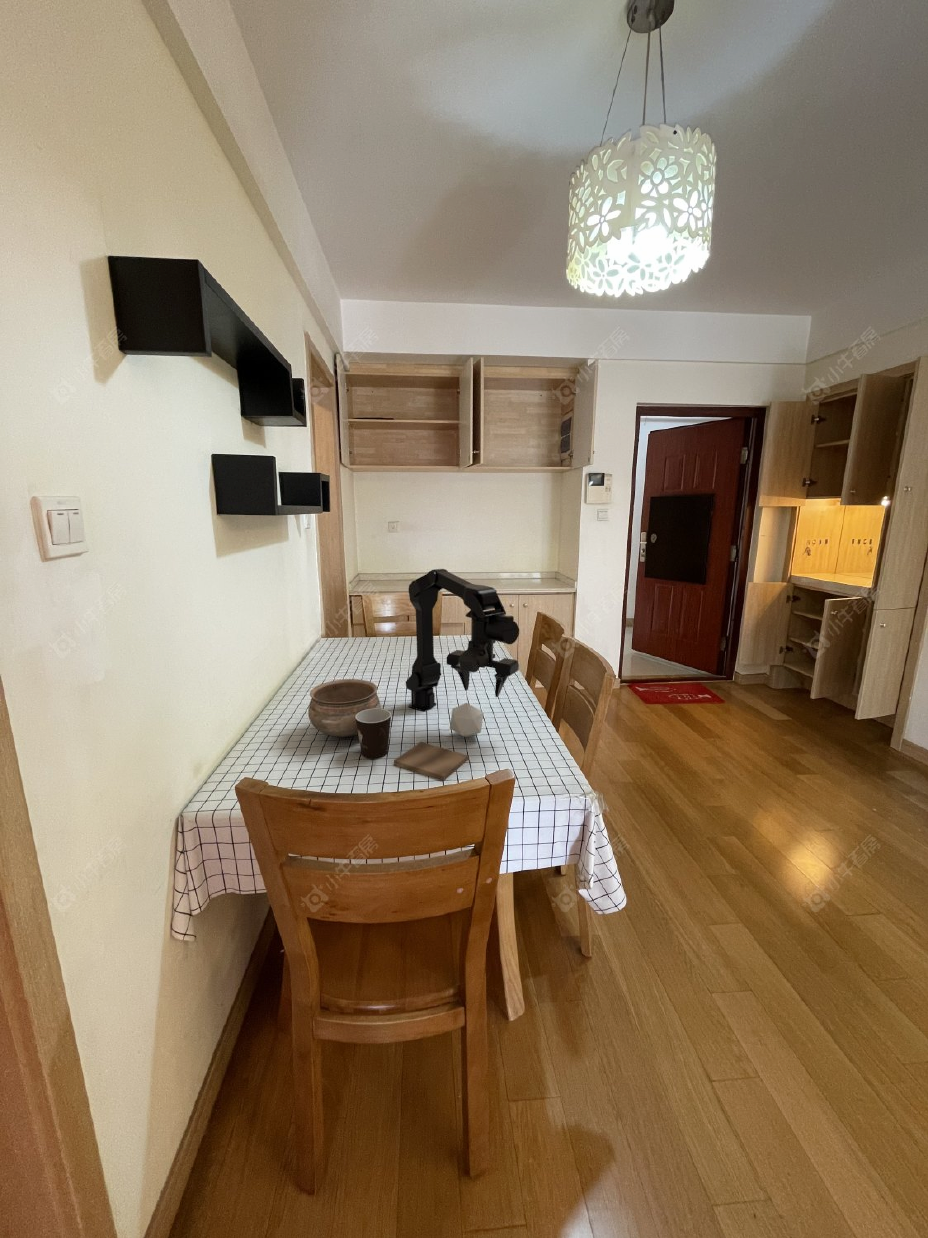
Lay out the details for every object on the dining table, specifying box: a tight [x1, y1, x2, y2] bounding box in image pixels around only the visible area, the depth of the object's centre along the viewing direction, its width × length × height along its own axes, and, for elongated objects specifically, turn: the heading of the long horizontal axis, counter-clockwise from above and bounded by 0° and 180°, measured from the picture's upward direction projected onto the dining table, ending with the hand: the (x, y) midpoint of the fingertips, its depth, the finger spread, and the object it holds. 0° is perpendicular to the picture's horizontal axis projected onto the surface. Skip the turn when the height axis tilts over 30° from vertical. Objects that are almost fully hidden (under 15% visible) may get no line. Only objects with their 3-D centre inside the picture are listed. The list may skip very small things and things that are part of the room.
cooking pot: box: [307, 678, 382, 739], centre depth 130 cm, size 25×19×12 cm
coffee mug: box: [355, 708, 392, 760], centre depth 118 cm, size 12×9×10 cm
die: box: [449, 702, 484, 739], centre depth 127 cm, size 8×9×10 cm
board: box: [393, 741, 469, 782], centre depth 116 cm, size 14×11×1 cm
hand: (481, 693), depth 128 cm, fingers open, 9 cm apart
